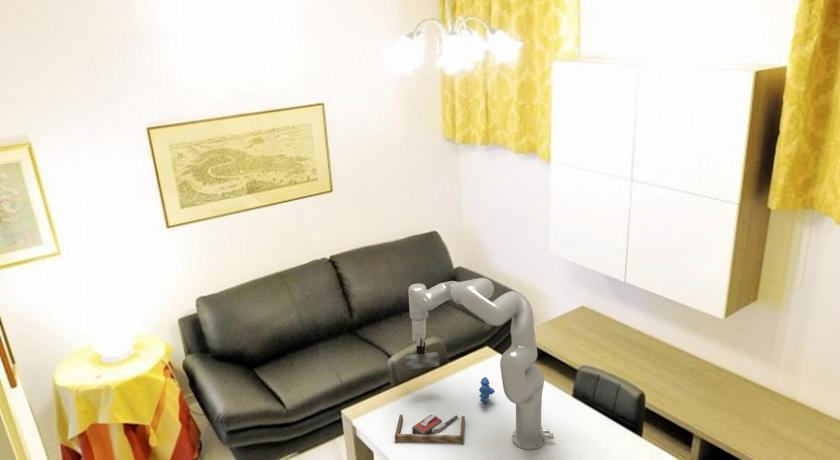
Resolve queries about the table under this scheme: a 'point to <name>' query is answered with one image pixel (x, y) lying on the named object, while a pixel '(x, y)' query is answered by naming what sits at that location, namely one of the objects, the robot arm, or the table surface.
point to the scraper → (422, 360)
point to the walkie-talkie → (430, 425)
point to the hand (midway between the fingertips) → (421, 351)
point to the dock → (429, 438)
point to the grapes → (485, 390)
